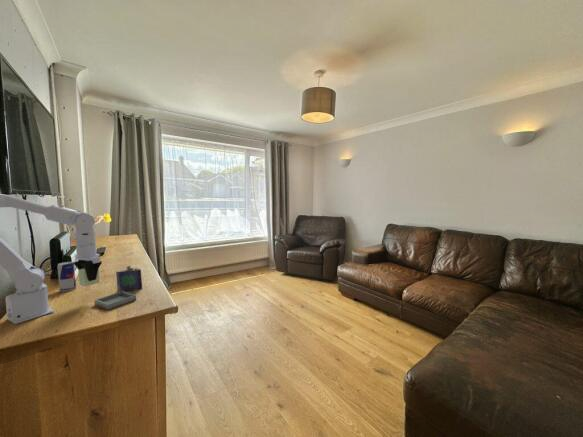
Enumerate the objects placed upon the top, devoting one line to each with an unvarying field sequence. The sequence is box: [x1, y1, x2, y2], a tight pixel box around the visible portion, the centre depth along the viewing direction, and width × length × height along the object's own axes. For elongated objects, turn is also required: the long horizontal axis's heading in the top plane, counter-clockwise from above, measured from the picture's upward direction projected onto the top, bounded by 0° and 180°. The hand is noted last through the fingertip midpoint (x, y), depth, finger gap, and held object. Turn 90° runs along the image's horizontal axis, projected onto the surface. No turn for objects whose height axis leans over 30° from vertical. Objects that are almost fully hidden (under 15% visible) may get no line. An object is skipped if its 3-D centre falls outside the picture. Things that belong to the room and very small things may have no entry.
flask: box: [115, 265, 143, 293], centre depth 104 cm, size 9×3×11 cm, turn 109°
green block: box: [77, 268, 100, 287], centre depth 92 cm, size 4×4×6 cm
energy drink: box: [56, 261, 77, 293], centre depth 105 cm, size 5×5×12 cm
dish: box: [94, 291, 137, 311], centre depth 91 cm, size 10×10×2 cm
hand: (89, 279), depth 92 cm, fingers closed on green block, 4 cm apart
